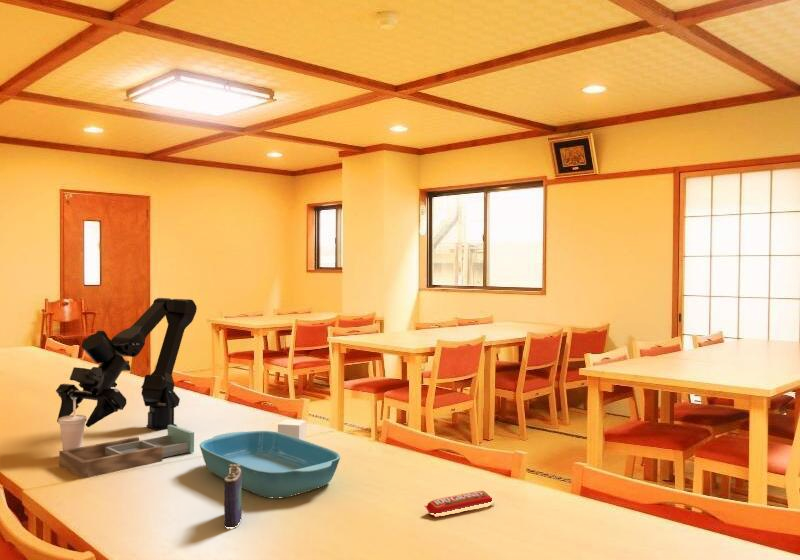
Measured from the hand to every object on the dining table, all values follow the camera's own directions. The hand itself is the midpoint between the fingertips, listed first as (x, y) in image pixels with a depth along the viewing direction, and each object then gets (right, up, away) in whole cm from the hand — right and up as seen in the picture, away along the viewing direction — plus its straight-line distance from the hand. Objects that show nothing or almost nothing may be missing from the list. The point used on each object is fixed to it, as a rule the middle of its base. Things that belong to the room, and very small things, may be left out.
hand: (72, 424), depth 166 cm
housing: (+12, -8, -5) cm, 15 cm away
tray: (+18, -8, +2) cm, 20 cm away
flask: (+50, -10, -39) cm, 64 cm away
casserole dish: (+52, -10, -14) cm, 54 cm away
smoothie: (0, -8, 0) cm, 8 cm away
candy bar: (+94, -11, -32) cm, 100 cm away
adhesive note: (+52, -9, +15) cm, 55 cm away
